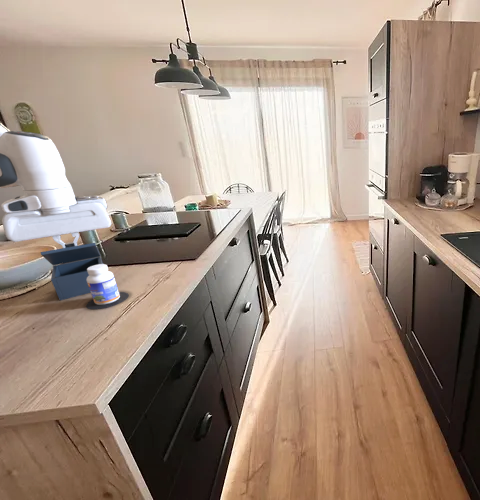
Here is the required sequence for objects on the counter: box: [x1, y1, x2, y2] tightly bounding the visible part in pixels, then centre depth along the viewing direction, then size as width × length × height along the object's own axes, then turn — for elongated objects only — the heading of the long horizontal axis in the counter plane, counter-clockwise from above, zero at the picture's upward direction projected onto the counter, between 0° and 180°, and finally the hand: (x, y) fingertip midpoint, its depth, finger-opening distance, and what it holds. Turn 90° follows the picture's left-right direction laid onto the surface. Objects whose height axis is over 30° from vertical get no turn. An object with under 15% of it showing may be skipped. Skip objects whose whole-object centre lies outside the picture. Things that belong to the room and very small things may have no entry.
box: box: [50, 256, 104, 301], centre depth 83 cm, size 12×11×7 cm
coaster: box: [85, 291, 130, 311], centre depth 77 cm, size 9×9×1 cm
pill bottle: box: [87, 263, 120, 305], centre depth 75 cm, size 5×5×10 cm
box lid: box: [40, 242, 101, 266], centre depth 81 cm, size 12×11×1 cm
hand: (71, 249), depth 79 cm, fingers closed
